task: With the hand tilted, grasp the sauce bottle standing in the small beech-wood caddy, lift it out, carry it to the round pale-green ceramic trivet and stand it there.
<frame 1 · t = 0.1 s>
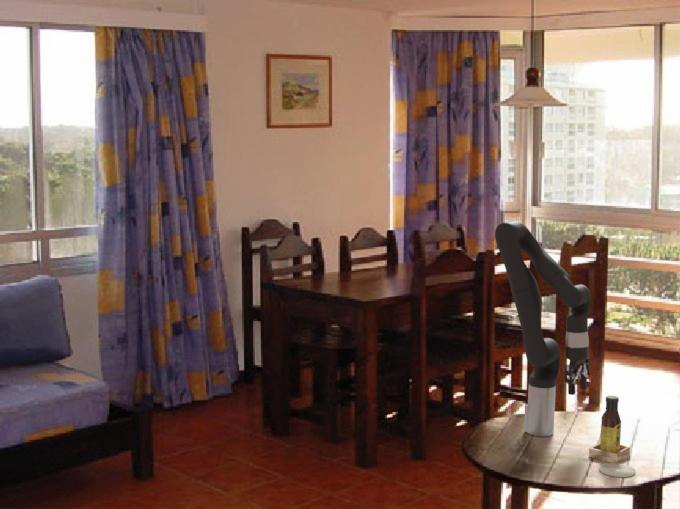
hand: (577, 391, 356), 17 cm above the table, tool pointing down, fingers open, 8 cm apart
sauce bottle: (609, 456, 344), resting in caddy
trivet: (617, 471, 331), on the table
caddy: (609, 456, 344), on the table
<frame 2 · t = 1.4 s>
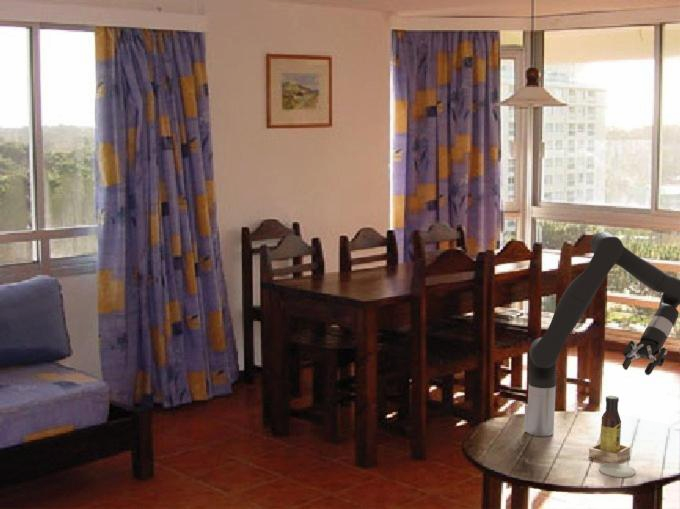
hand: (635, 371, 350), 26 cm above the table, tool tilted 45°, fingers open, 8 cm apart
nothing on the table moved.
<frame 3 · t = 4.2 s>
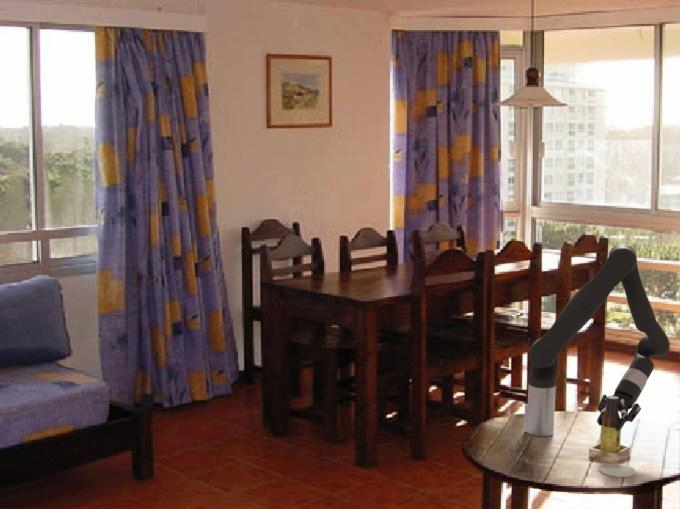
hand: (607, 426, 342), 10 cm above the table, tool tilted 45°, fingers closed on sauce bottle, 6 cm apart
sauce bottle: (609, 456, 344), resting in caddy, touching gripper
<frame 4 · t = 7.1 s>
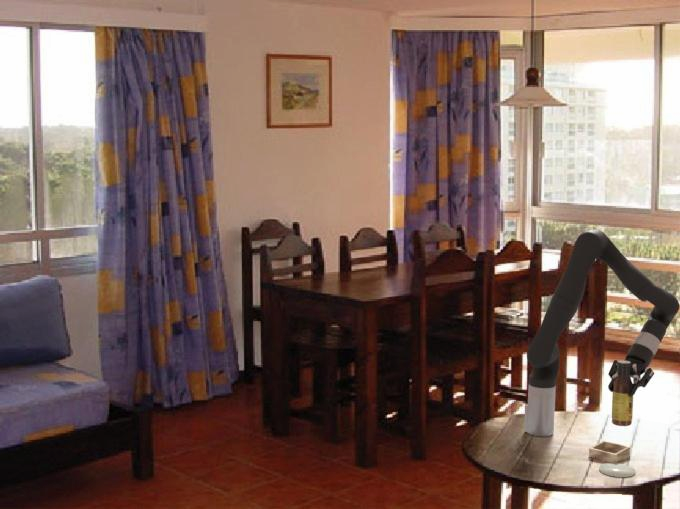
hand: (619, 392, 327), 25 cm above the table, tool tilted 45°, fingers closed on sauce bottle, 6 cm apart
sauce bottle: (621, 424, 330), point 15 cm above the table, touching gripper
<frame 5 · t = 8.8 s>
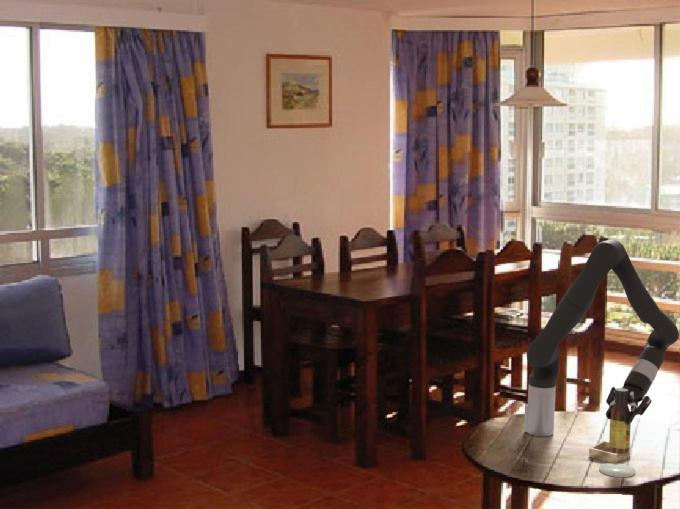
hand: (617, 420, 327), 17 cm above the table, tool tilted 45°, fingers closed on sauce bottle, 6 cm apart
sauce bottle: (619, 451, 330), point 6 cm above the table, touching gripper
when the fingers open (12 cm above the table, at t = 10.3 s): sauce bottle drops 1 cm, resting on trivet.
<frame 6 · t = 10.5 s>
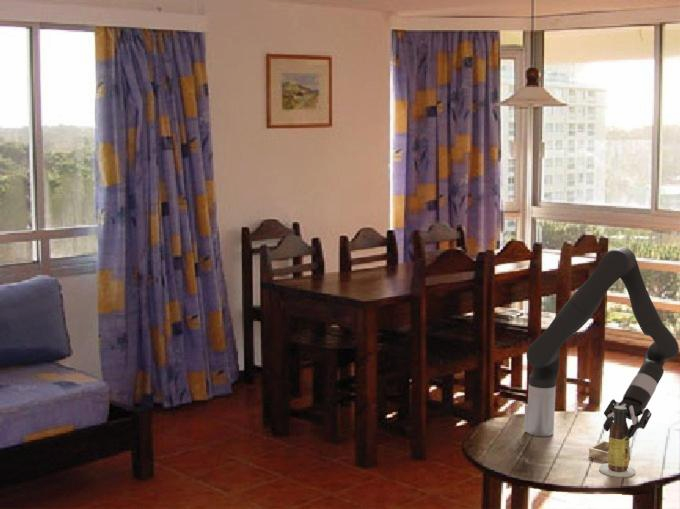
hand: (616, 433, 328), 13 cm above the table, tool tilted 45°, fingers open, 8 cm apart
sauce bottle: (617, 469, 331), resting on trivet
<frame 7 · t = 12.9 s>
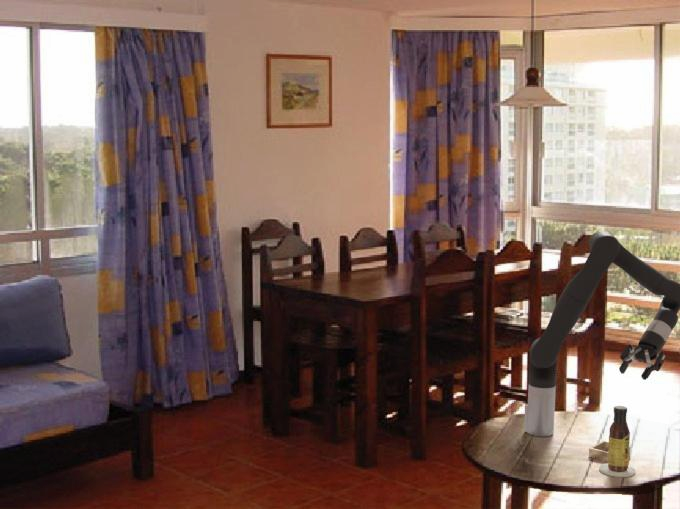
hand: (632, 375, 345), 26 cm above the table, tool tilted 45°, fingers open, 8 cm apart
nothing on the table moved.
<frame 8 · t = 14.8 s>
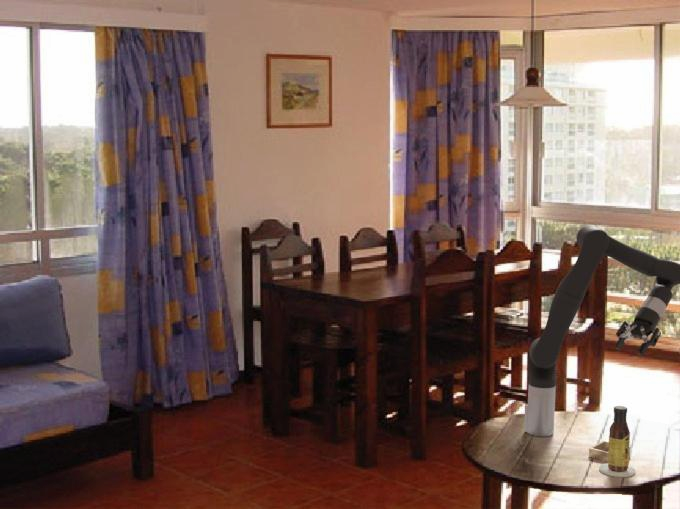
hand: (628, 351, 350), 33 cm above the table, tool tilted 45°, fingers open, 8 cm apart
nothing on the table moved.
at the end: sauce bottle 0.2 cm from the trivet (horizontally); sauce bottle tilted 0°; the gripper is holding nothing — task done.
